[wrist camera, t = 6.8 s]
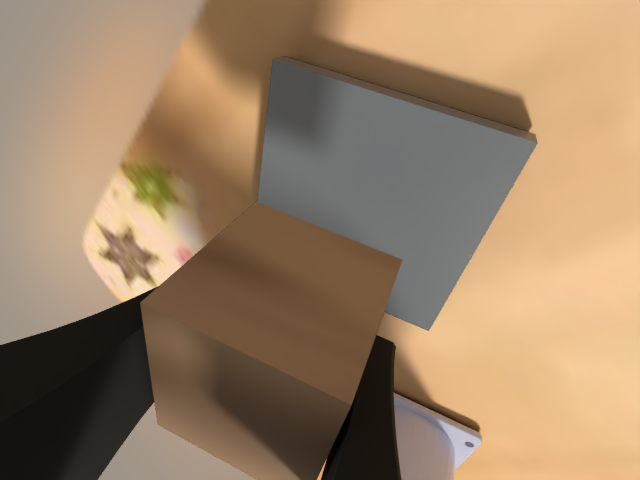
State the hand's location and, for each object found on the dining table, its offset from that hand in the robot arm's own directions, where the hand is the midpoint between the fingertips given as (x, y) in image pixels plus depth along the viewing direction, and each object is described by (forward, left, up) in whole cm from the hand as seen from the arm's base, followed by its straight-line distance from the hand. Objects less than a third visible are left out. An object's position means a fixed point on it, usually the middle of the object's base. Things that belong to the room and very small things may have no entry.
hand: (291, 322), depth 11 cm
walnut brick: (0, 0, -1) cm, 1 cm away
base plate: (0, 0, -8) cm, 8 cm away
